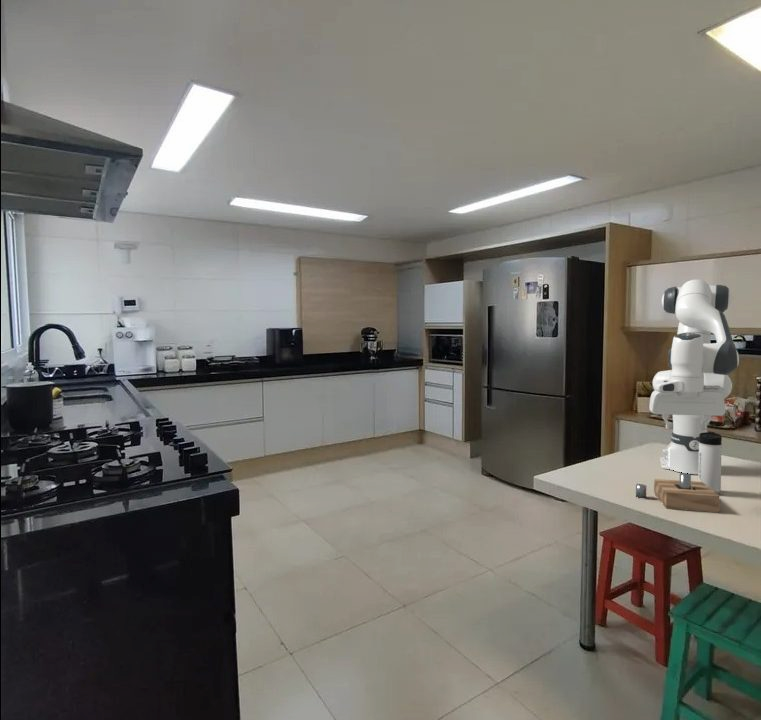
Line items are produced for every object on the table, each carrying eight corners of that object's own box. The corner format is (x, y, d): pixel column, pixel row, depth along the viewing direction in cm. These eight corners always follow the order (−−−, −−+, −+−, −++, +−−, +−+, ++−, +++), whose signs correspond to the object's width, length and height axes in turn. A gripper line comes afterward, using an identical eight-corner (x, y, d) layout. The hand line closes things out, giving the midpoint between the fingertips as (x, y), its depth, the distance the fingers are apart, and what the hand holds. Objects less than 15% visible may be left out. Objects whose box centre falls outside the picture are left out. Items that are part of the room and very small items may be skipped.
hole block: (654, 493, 158) (654, 478, 158) (702, 496, 154) (702, 481, 154) (666, 508, 145) (666, 492, 145) (719, 512, 141) (719, 496, 141)
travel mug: (721, 491, 159) (722, 432, 158) (719, 496, 154) (721, 436, 153) (699, 487, 163) (700, 430, 162) (696, 492, 158) (698, 433, 157)
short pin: (634, 495, 157) (635, 483, 157) (645, 496, 156) (645, 484, 156) (637, 498, 154) (637, 486, 154) (647, 499, 153) (647, 487, 153)
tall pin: (677, 500, 152) (678, 472, 151) (688, 501, 151) (689, 473, 150) (680, 503, 149) (681, 475, 148) (691, 504, 148) (692, 476, 147)
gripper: (721, 384, 148) (720, 428, 148) (648, 383, 154) (647, 425, 154) (729, 386, 142) (728, 432, 142) (653, 386, 147) (652, 429, 148)
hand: (685, 428), depth 148 cm, fingers open, 8 cm apart
